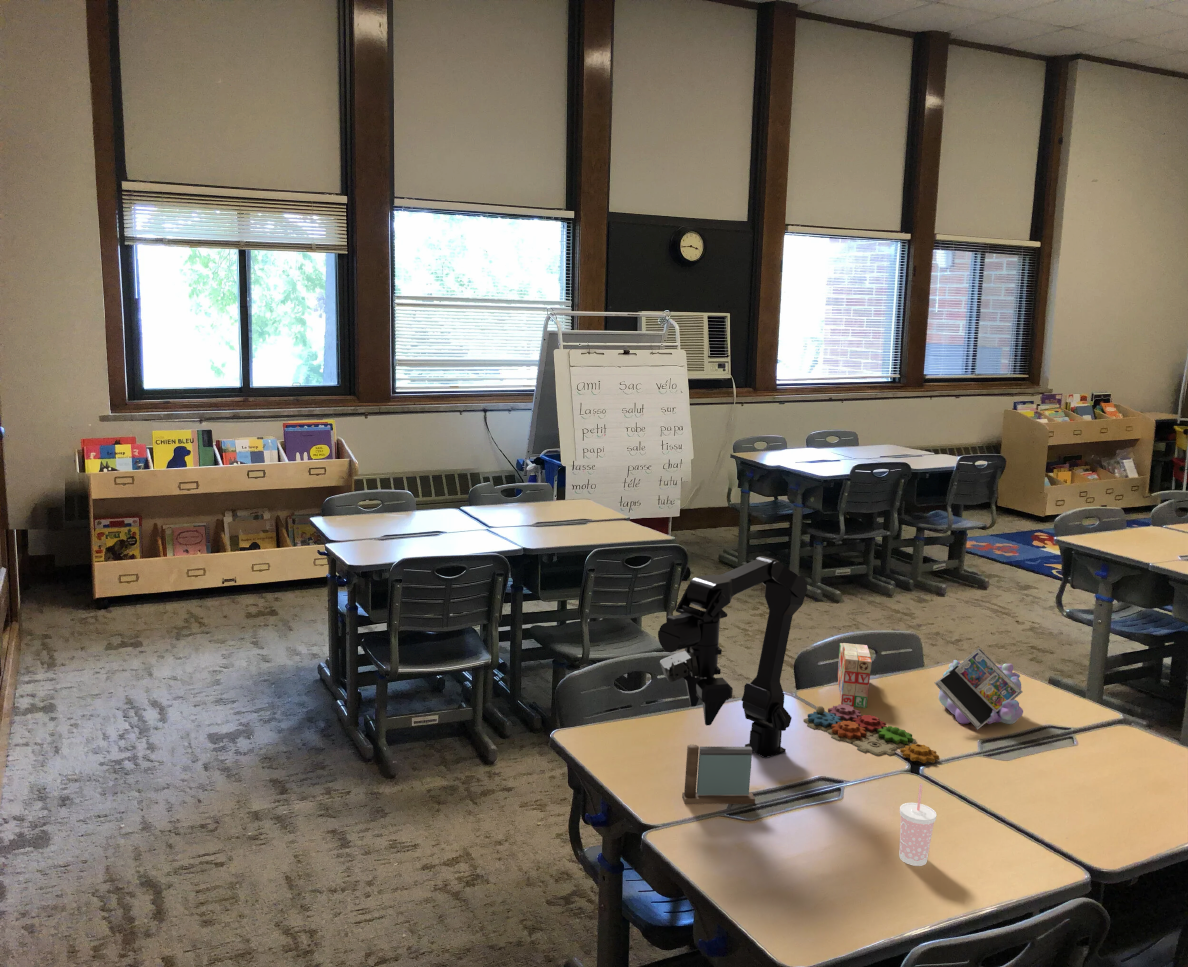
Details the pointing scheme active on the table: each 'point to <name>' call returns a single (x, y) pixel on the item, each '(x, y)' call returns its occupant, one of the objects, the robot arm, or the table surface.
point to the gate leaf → (724, 770)
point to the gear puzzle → (867, 733)
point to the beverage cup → (916, 831)
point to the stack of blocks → (854, 674)
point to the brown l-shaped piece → (693, 798)
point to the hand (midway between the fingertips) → (700, 715)
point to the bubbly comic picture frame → (980, 691)
